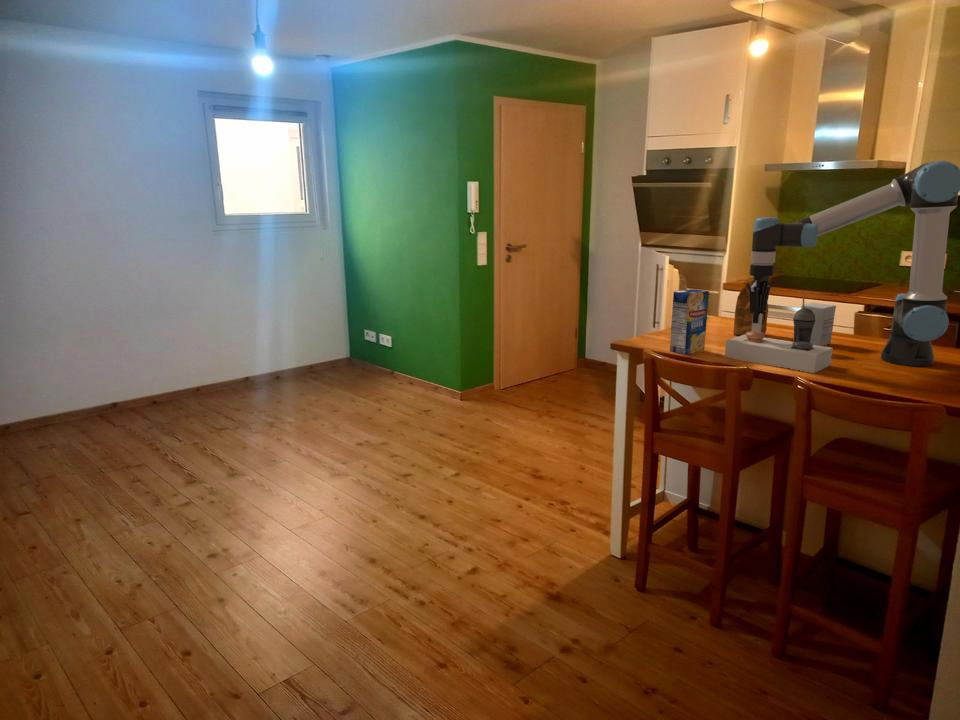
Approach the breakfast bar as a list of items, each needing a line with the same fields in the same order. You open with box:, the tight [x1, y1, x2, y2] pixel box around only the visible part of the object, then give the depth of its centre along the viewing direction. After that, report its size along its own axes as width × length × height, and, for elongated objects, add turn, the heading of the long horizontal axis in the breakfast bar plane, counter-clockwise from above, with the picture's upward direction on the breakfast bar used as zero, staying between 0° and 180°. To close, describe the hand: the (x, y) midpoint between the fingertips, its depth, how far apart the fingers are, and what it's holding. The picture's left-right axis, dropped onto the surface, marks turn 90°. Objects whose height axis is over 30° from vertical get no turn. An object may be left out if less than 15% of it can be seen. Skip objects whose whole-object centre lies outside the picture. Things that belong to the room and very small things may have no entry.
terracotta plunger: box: [746, 332, 766, 343], centre depth 226 cm, size 6×6×6 cm
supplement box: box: [800, 302, 837, 347], centre depth 245 cm, size 9×9×15 cm
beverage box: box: [669, 288, 710, 356], centre depth 234 cm, size 7×11×22 cm, turn 124°
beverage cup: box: [792, 295, 816, 343], centre depth 233 cm, size 7×7×20 cm
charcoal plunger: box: [792, 341, 813, 351], centre depth 215 cm, size 6×6×6 cm
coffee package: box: [733, 281, 769, 336], centre depth 259 cm, size 10×12×22 cm
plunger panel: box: [724, 334, 833, 374], centre depth 221 cm, size 30×14×6 cm, turn 43°
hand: (756, 332), depth 225 cm, fingers closed
